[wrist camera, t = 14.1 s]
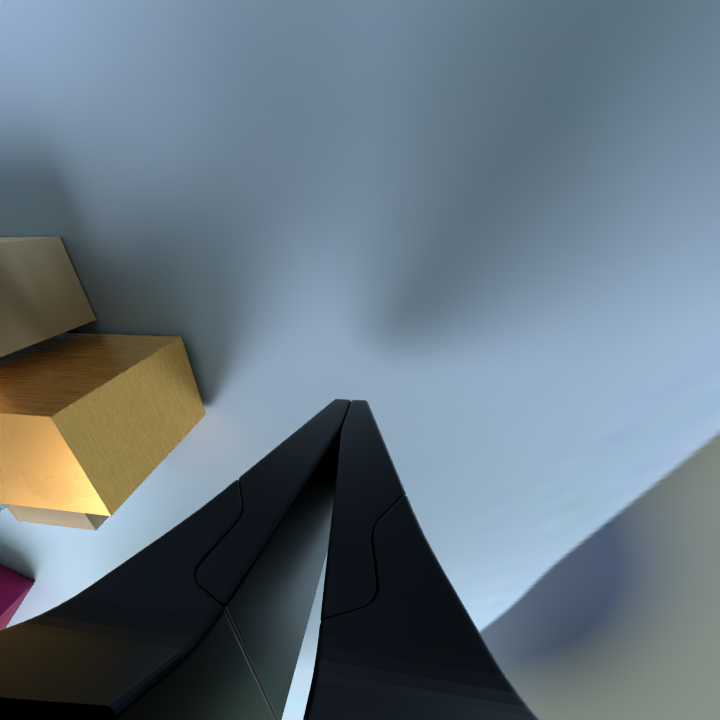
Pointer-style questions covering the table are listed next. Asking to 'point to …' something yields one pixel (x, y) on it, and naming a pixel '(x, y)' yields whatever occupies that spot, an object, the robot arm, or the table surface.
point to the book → (11, 593)
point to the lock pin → (91, 418)
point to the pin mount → (41, 326)
